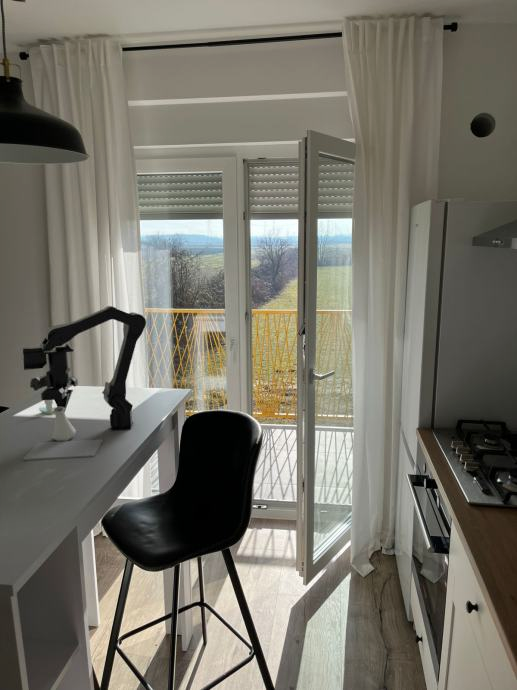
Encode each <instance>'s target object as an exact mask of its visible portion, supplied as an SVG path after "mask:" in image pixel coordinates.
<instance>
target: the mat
mask: <svg viewBox="0 0 517 690" xmlns="http://www.w3.org/2000/svg"><path fill="white" fill-rule="evenodd" d="M103 441H104V439H85V440H82V439H80V440H67V441H47V442H46V441H42V442H37V443H36V444H35V445H34V446H33V448H31V450H30V451H28V453H27V454H26V456H24V458H23V461H31V460H33V461H34V460H53V459H69V458H86V457H87V458H89V457H95V455H96V454H97V453H98V450H99V449H100V446H101V445H102V443H103Z"/></svg>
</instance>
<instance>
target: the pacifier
mask: <svg viewBox="0 0 517 690" xmlns="http://www.w3.org/2000/svg"><path fill="white" fill-rule="evenodd" d="M43 401H44V404H45V407H43V406H41V407H38V410H39V411H40V412H41V413H43V414H45V415H52V414H55V412H54V409H55V408H56V407H57V406H55V407H53V403H54V400H43Z"/></svg>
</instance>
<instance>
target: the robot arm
mask: <svg viewBox="0 0 517 690" xmlns="http://www.w3.org/2000/svg"><path fill="white" fill-rule="evenodd" d="M110 320H115V321H116V322H119V323H122V324H123V325H122V326H123V328H122V329H123V330H122V331H123V333H122V334H123V339H122V343H121V346H120V350H119V354H118V357H117V360H116V363H115V364H116V365H115V369H114V373H113V376H112V378H111V380H110V381H109V382H108V381H105V384H104V389H103V391H102V395H103V399H104V401H105V403H106V404H108V406H110V408H112V409H111V410H110V415H109V423H110V425H109V426H110V427H111V428H110V430H111V431H114V430H119V431H121V430H130V429H132V427H133V425H134V421H133V412H132V410H133V407H134V406H133V404H132V403H131V402H130V401H129V400H127V398H126V397H127V378H128V374H129V372H130V371H129V370H130V367H131V363H132V360H133V356H134V352H135V348H136V344H137V342H138V341H139V339H140V337H141V335H142V334H143V333H144V330H145V328H146V325H147V319H146V318H145V317H144V316H143V315H142V314H140V313H137V312H135V311H134V312H129V313H128V312H125V311H123V310H121V309H118V308H116V307H114V306H112V305H107V306H106V307H104V308H102V309H100V310H98V311H95V312H93V313H91V314H89V315H85V316H83V317H82V318H79V319H76V320H74V321H71V322H67V323H61V324H56V325H53V326H50V327H48V328H47V330H46V331H45V338H44V339H43V341H41V343H40V345H39V346H36V347H35V346H34V347H22V348H21V351H22V355H21V356H22V357H21V362H22V368H23V369H22V370H23V371H28V370H36V369H37V370H38V369H44V367H46V365H47V364H48V370H47V371H46V374H44V375H42V376H35V377H32V378H31V379H30V385H29V387H30V388H32V389H33V390H34V392H36V391H38V390H39V389H43V388H45V389H44V390H43V391H42V392H41V393H40V399H41V400H42V401H44V400H53V401H54V402H55V405H56V407H60V406H62V407H64V408H65V409H64V412H65V413H66V410H67V408H68V404H69V401H70V399H71V397H72V394H73V392H74V389H69V386H72V385H73V387H77V386H78V378H77V377H76V376H70V375H69V374H70V373H69V372H71V367H69V362H68V361H69V360H68V353H72V352H74V348H72V347H71V346H70V345H69V344H68V343H69V342H70V341H71V340H72V339H74V338H75V337H76V336H78V335H79V334H81V333H83V332H85V331H88V330H90V329H93V328H95V327H97V326H100V325H101V324H103V323H104V324H105V323H106V322H108V321H110ZM47 361H48V363H47Z"/></svg>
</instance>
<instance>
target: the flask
mask: <svg viewBox="0 0 517 690" xmlns="http://www.w3.org/2000/svg"><path fill="white" fill-rule="evenodd" d="M55 407H56V408H55ZM55 407H54V408H55V409H54V412H55V413H54V414H55V415H54V416H55V422H54V426H53V432H52V436H51V439H53V440H55V441H56V442H61V441H70V439H73V437H75V436H76V432H77V430H76V429H75V427H74V426H73V424H72V423H71V421H70V420H69V419H68V417H67V415H66V411H65V412H64V409H65V408H64V407H62V406H60V407H57V406H55Z"/></svg>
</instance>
